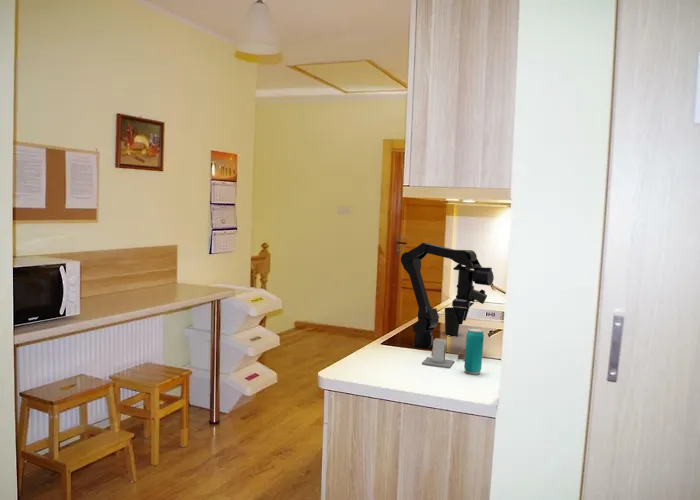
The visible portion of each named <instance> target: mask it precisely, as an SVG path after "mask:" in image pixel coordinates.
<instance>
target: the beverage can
mask: <svg viewBox="0 0 700 500" xmlns="http://www.w3.org/2000/svg"><path fill="white" fill-rule="evenodd" d="M484 336H485V334H484V330H483V329H481V328H473V327H472V328H471V327H470V328H468V329H467V332H466V337H465V338H466V340H465V349H466V350H465V360H464V372H465V373H466V374H469V375H474V376H475V375H479V374H480V372H481V370H482V364H483V351H484V338H485V337H484Z"/></svg>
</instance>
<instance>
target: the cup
mask: <svg viewBox="0 0 700 500" xmlns="http://www.w3.org/2000/svg"><path fill="white" fill-rule="evenodd" d="M460 326H461V324H459V322H458V319H457V316H456V314H455V311H454V308H453V307H444V335H445V334H446V335H450V336H449V337H451V336H456V337H458V335H459V330H460ZM446 335H445V336H446Z"/></svg>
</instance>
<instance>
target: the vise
mask: <svg viewBox="0 0 700 500" xmlns="http://www.w3.org/2000/svg"><path fill="white" fill-rule="evenodd" d="M465 350H466V348H465V349H464V348H461V350H459V352H458V354H457V359H458V360H462V361H463V360H464V361H465ZM432 354H433V349H432V350H431V355H432Z"/></svg>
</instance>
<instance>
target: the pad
mask: <svg viewBox="0 0 700 500" xmlns="http://www.w3.org/2000/svg"><path fill="white" fill-rule="evenodd" d="M454 363H455V360H454V359H453V360H452V359H446V358H445V362H444V363H443V364H441V363H434V362H432V356H427V357H426V358H425V359H424V360H423V361H422V362H421V365H422V366H430V367H434V368H435V367H437V368H443V369H451V367H452V366H453V365H454Z"/></svg>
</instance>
